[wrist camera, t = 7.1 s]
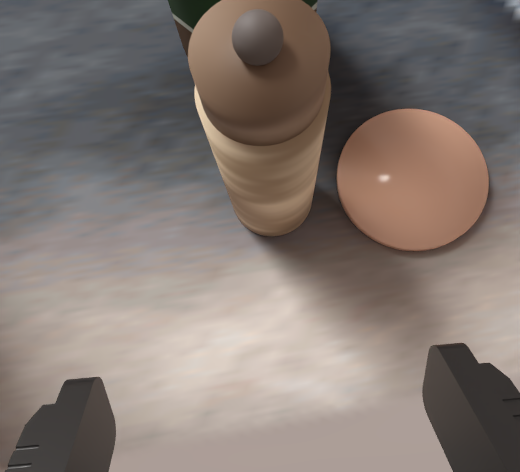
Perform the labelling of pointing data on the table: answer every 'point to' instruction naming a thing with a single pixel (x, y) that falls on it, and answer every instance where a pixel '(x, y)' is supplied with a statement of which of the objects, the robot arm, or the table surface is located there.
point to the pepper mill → (263, 105)
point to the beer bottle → (198, 15)
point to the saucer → (412, 179)
